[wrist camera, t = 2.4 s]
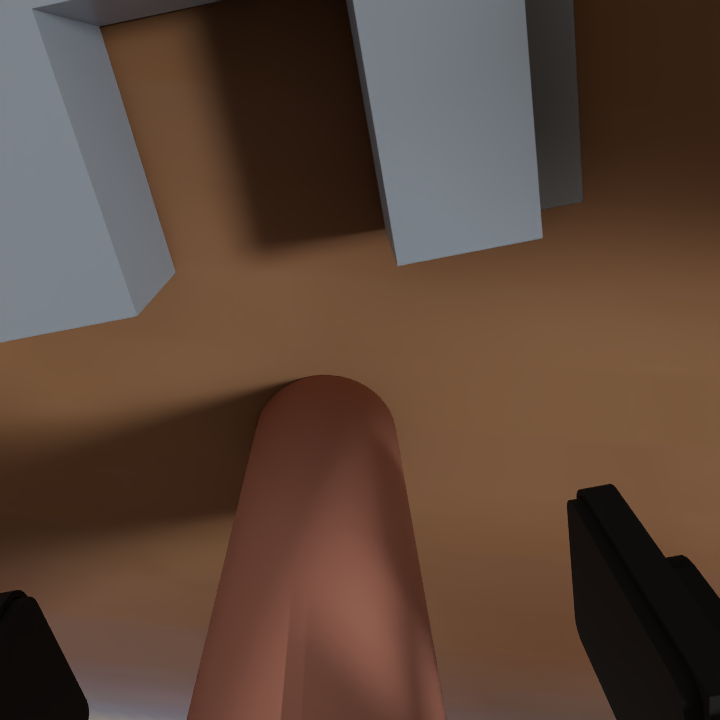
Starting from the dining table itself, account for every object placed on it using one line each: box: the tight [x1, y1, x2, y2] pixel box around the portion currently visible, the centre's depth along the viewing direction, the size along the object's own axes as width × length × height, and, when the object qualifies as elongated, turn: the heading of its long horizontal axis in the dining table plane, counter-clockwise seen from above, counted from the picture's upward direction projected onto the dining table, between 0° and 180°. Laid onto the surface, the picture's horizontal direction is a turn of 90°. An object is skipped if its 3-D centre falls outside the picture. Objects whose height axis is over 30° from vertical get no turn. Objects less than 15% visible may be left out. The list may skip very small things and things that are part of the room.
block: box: [0, 0, 543, 342], centre depth 11 cm, size 10×8×3 cm
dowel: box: [187, 375, 446, 720], centre depth 11 cm, size 4×4×12 cm
